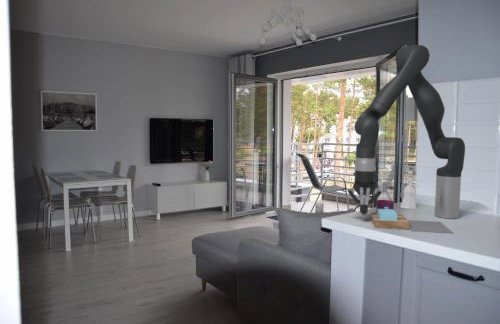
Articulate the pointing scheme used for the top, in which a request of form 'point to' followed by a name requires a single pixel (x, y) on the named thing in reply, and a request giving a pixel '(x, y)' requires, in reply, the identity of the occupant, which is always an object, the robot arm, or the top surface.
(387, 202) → the mug
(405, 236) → the top surface
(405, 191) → the figurine
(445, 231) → the mat
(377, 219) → the deck
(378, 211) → the light blue block
